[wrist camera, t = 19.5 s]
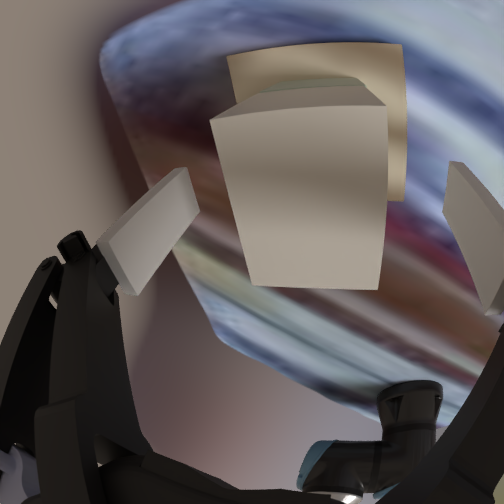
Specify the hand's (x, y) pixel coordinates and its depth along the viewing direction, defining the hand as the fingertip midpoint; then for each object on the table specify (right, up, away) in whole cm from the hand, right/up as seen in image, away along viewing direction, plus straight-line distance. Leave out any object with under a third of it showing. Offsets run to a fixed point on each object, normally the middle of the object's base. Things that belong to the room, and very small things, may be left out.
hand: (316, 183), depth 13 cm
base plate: (+3, +8, +9) cm, 13 cm away
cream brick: (+1, +3, +3) cm, 4 cm away
